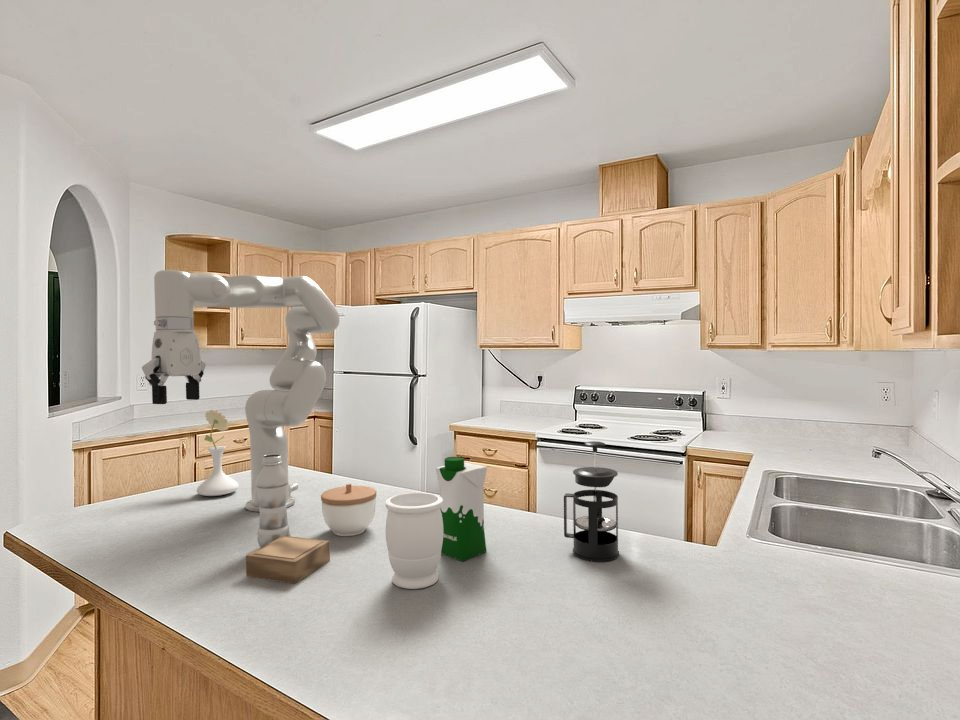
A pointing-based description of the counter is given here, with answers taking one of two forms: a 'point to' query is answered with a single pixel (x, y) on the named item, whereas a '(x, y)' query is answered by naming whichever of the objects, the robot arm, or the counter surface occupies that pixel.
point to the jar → (414, 538)
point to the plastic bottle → (272, 500)
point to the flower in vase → (217, 461)
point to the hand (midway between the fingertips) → (176, 401)
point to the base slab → (288, 559)
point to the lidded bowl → (348, 509)
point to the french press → (594, 514)
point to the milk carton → (462, 508)
